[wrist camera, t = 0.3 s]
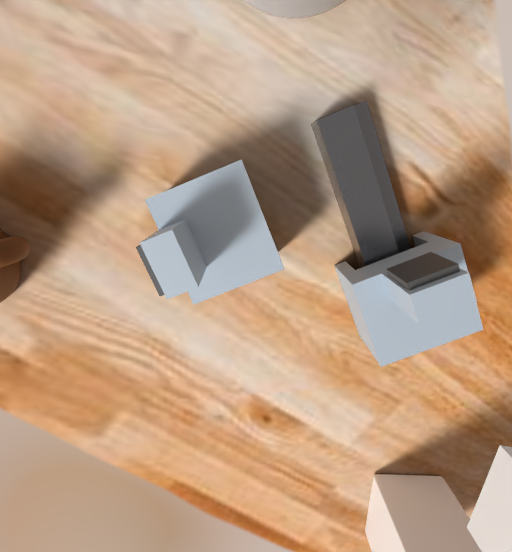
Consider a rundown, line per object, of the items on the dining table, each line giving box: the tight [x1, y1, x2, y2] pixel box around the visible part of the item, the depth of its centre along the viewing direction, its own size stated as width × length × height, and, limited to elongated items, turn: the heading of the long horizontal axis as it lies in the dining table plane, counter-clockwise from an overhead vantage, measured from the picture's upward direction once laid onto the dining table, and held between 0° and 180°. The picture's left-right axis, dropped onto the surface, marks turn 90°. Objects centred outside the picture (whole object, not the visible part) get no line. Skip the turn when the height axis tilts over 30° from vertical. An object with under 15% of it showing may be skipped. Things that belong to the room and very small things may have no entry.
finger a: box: [334, 231, 483, 367], centre depth 29 cm, size 8×8×11 cm
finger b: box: [136, 160, 284, 304], centre depth 28 cm, size 8×8×11 cm
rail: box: [311, 101, 411, 268], centre depth 32 cm, size 20×4×3 cm, turn 22°
